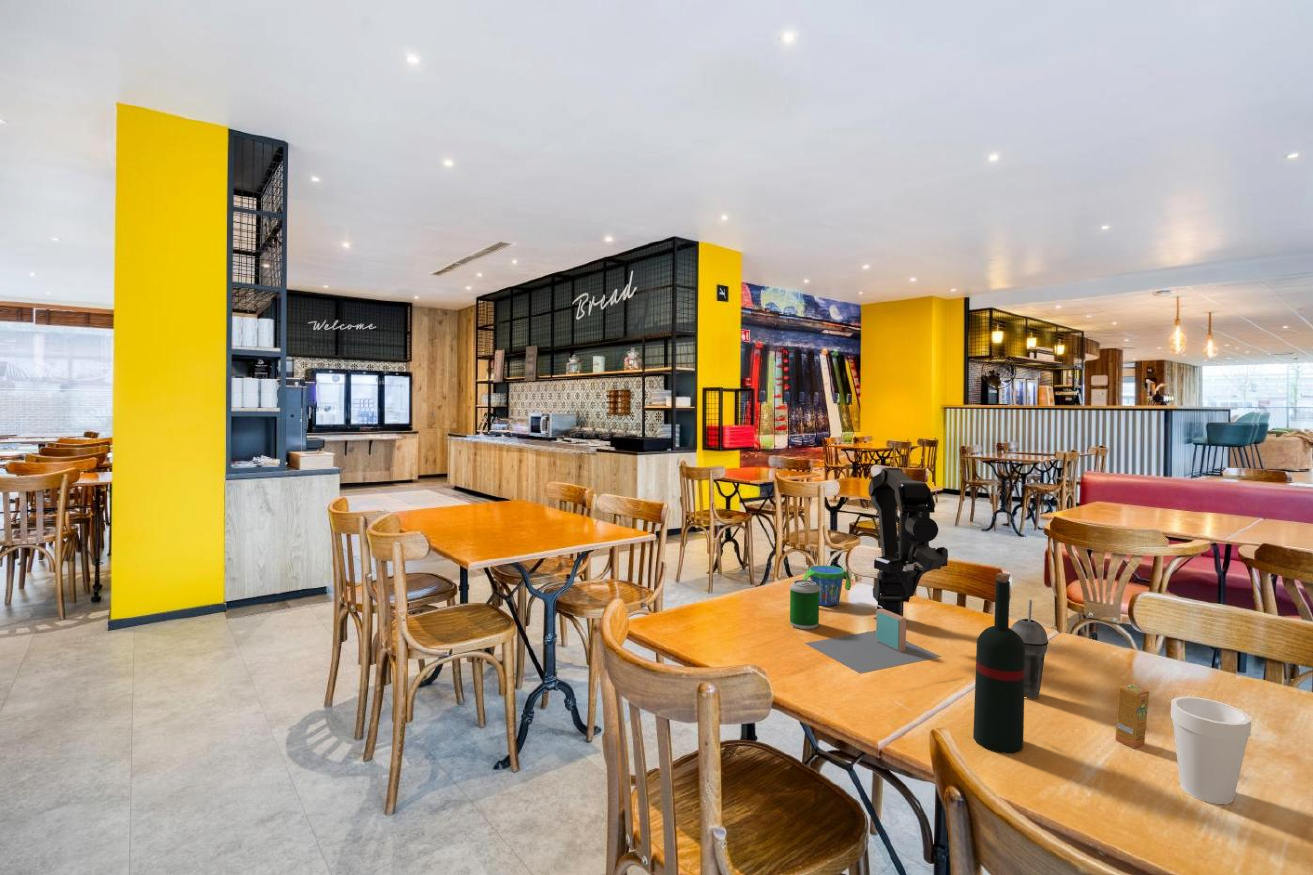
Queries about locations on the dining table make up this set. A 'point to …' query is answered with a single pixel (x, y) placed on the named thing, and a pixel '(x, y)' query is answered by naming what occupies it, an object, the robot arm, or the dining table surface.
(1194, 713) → the foam cup
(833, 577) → the snack cup
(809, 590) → the soda can
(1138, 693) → the supplement box
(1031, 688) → the beverage cup
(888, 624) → the terracotta tile
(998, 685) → the wine bottle
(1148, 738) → the dining table surface
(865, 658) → the slate mat
